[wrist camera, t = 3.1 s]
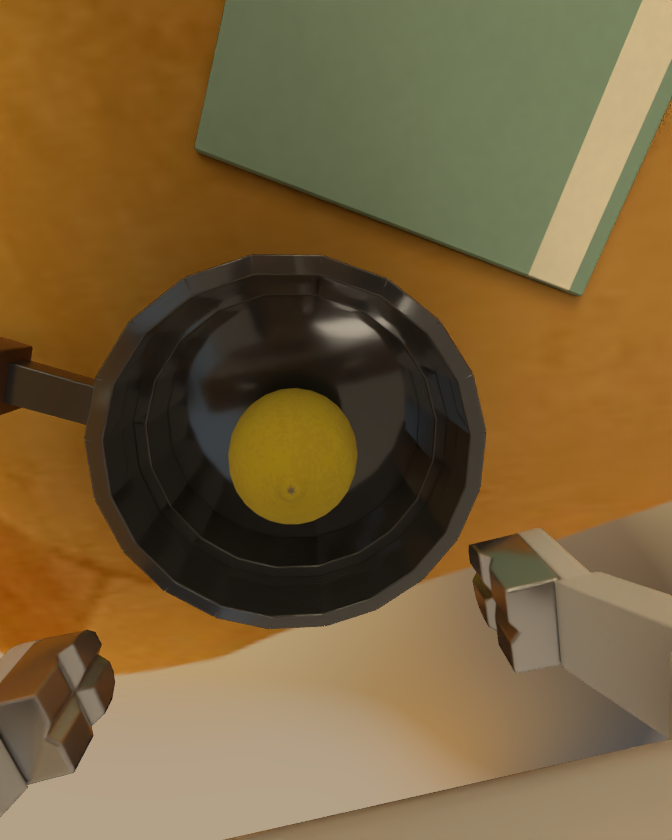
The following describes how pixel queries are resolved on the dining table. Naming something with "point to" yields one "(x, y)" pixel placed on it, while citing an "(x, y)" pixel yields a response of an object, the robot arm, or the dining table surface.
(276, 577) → the pan
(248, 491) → the lemon
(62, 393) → the pan handle
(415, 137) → the tea towel
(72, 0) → the dining table surface
